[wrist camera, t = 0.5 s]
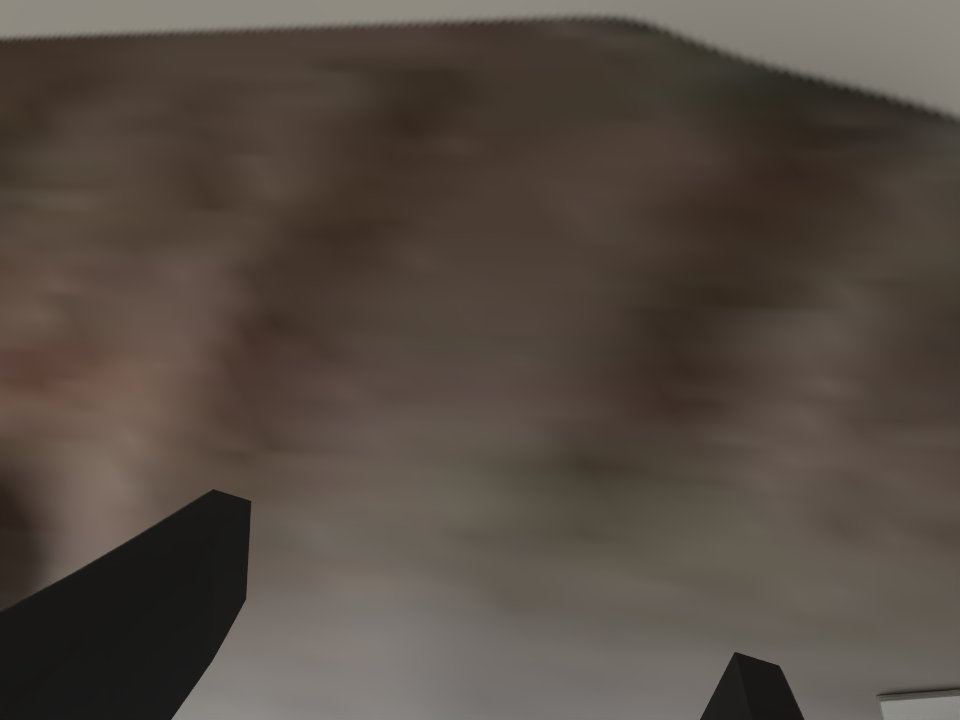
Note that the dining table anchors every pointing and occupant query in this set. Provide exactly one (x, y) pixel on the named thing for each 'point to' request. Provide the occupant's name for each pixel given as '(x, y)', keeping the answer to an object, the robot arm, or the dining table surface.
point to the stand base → (921, 706)
